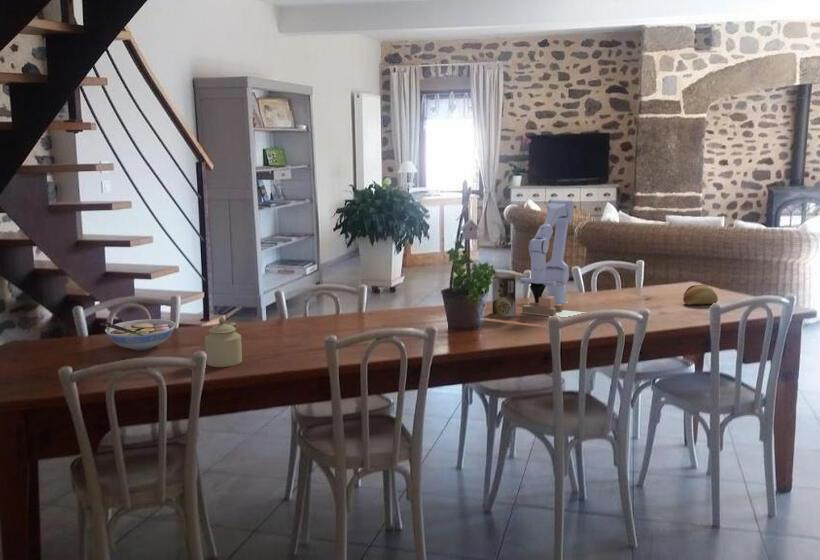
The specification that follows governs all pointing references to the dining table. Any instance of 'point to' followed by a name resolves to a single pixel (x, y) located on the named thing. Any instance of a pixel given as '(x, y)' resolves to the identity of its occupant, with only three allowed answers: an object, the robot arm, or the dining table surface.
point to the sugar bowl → (223, 345)
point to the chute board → (547, 310)
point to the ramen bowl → (140, 333)
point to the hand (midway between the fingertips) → (537, 302)
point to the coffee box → (503, 295)
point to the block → (547, 301)
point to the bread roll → (699, 295)
